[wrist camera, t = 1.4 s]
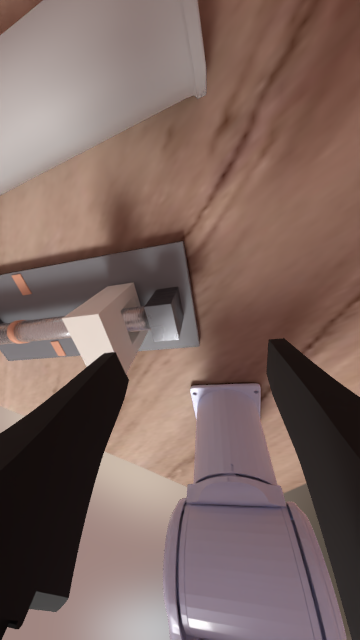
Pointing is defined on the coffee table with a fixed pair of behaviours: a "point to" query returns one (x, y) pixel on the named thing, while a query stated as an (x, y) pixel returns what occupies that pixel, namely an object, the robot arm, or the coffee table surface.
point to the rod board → (86, 281)
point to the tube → (91, 76)
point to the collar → (105, 325)
